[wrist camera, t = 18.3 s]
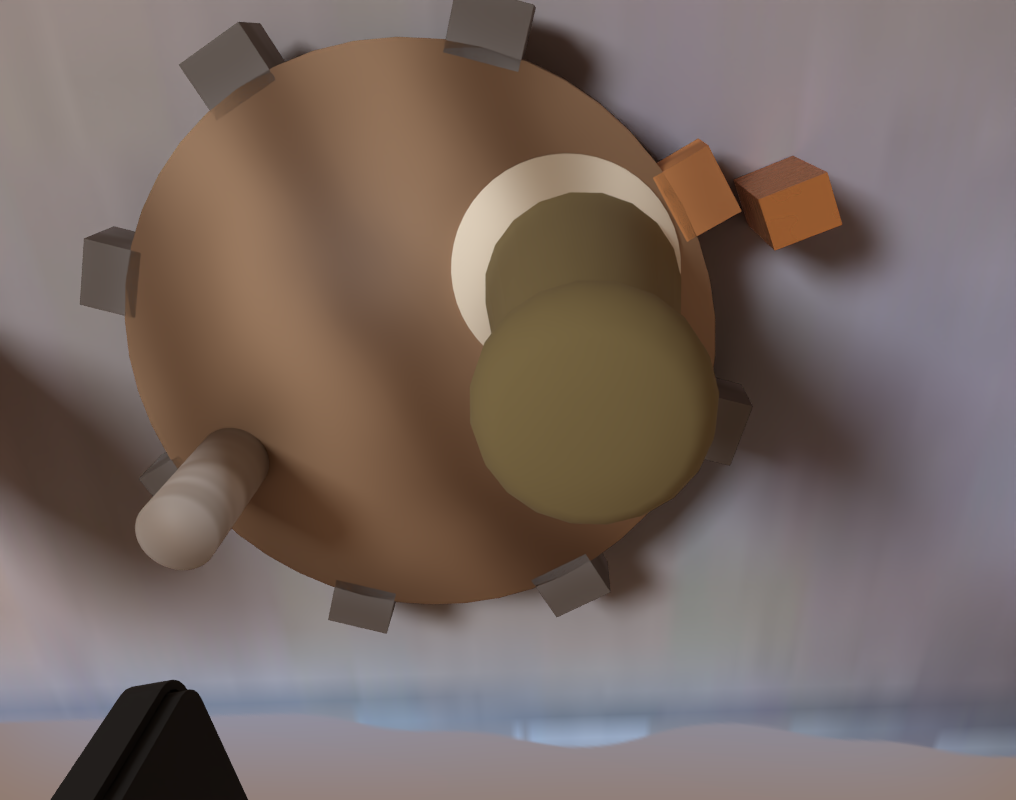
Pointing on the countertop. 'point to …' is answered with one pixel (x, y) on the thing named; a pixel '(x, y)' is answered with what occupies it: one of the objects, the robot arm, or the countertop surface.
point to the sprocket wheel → (370, 307)
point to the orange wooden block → (788, 202)
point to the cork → (590, 364)
